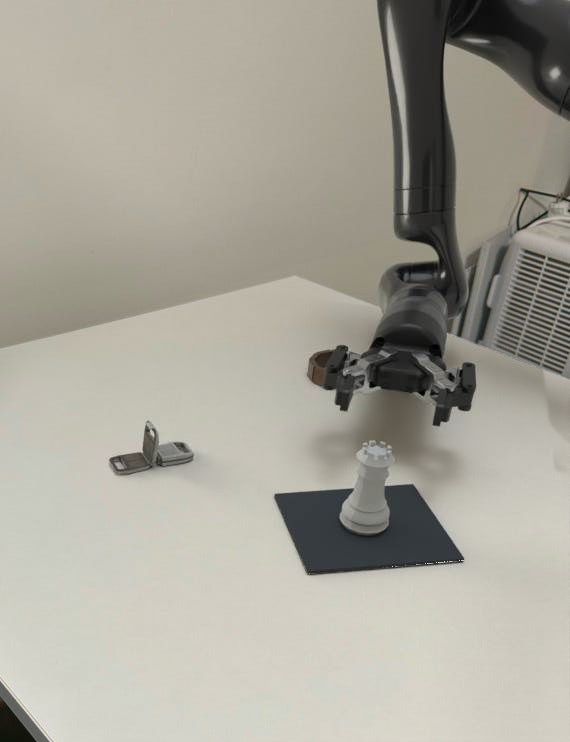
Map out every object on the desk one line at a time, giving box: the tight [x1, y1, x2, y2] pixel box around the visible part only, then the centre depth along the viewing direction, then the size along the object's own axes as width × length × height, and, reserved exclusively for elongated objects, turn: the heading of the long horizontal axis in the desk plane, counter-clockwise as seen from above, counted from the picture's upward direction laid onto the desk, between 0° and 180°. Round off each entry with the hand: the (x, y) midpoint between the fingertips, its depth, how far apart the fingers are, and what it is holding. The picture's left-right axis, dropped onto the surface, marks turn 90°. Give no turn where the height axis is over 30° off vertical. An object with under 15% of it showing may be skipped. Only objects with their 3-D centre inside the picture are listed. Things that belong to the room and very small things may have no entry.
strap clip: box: [108, 420, 195, 475], centre depth 84 cm, size 8×3×4 cm, turn 111°
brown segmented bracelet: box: [307, 348, 360, 390], centre depth 101 cm, size 7×7×2 cm
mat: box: [273, 483, 465, 575], centre depth 76 cm, size 14×12×1 cm
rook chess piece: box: [340, 439, 396, 536], centre depth 73 cm, size 4×4×8 cm
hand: (390, 409), depth 76 cm, fingers open, 8 cm apart
